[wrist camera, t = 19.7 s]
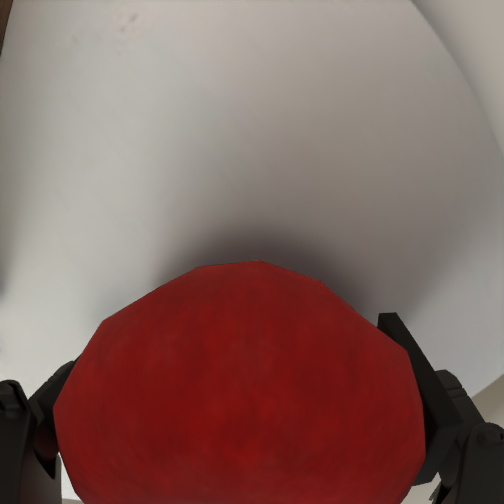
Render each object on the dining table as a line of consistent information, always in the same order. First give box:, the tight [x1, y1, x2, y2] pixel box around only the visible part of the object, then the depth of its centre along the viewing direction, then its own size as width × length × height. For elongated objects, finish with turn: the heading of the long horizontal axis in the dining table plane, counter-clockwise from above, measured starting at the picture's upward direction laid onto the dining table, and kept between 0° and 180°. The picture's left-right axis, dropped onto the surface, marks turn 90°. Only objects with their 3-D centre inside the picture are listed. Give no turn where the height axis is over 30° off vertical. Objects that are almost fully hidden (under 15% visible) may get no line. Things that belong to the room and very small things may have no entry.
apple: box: [53, 260, 426, 504], centre depth 9 cm, size 10×10×11 cm
